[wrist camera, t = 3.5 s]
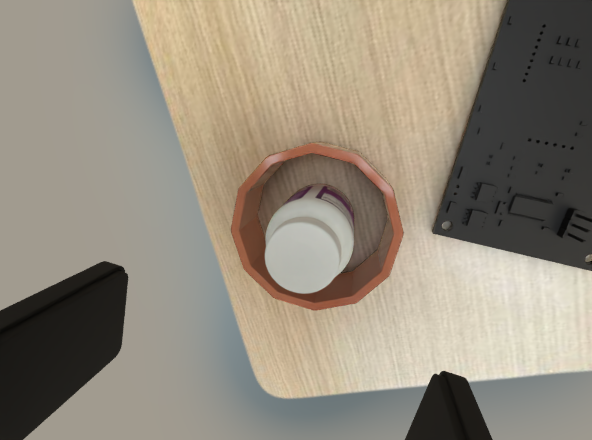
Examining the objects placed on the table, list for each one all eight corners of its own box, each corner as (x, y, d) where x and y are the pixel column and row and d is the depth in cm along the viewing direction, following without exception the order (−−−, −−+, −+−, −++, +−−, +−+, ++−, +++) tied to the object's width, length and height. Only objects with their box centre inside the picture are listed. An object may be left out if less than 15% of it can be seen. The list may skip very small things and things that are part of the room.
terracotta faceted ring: (241, 260, 29) (220, 282, 24) (268, 128, 25) (249, 127, 21) (369, 298, 27) (371, 328, 23) (414, 164, 24) (425, 171, 20)
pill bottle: (292, 250, 28) (258, 308, 18) (282, 187, 26) (242, 214, 17) (358, 245, 26) (357, 304, 17) (351, 179, 25) (347, 204, 16)
